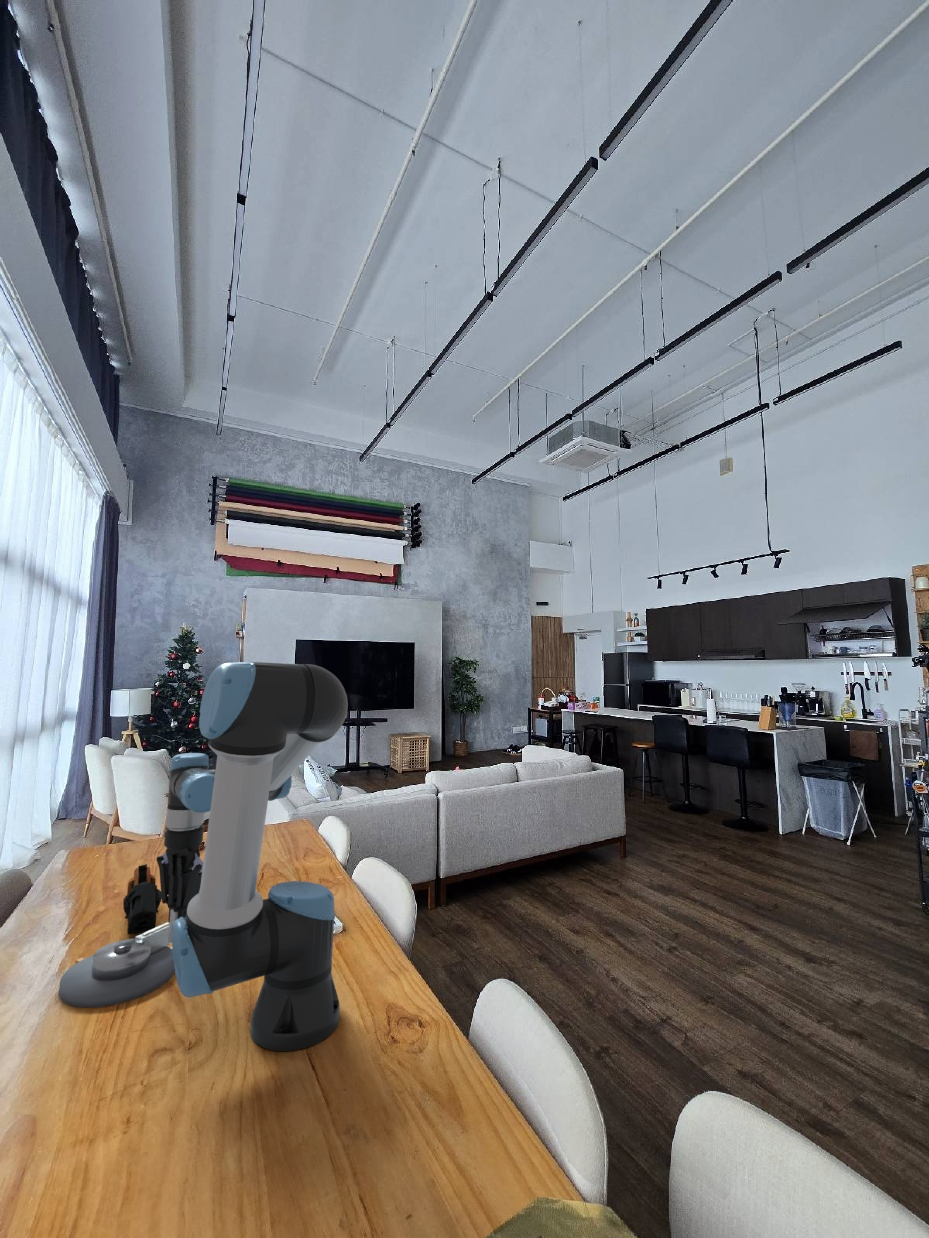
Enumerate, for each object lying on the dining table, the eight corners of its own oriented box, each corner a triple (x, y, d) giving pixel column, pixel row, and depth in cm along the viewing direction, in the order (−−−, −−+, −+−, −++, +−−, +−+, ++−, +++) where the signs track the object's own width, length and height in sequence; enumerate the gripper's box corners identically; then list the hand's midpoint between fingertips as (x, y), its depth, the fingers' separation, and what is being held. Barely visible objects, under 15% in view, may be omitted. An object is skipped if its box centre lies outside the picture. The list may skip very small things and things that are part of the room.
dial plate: (202, 973, 112) (202, 963, 113) (73, 1021, 96) (74, 1009, 96) (162, 937, 127) (162, 928, 128) (45, 973, 111) (46, 963, 111)
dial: (114, 984, 104) (116, 960, 104) (79, 972, 108) (81, 949, 108) (183, 947, 118) (184, 926, 119) (150, 938, 122) (152, 918, 122)
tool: (118, 969, 127) (122, 915, 123) (122, 898, 145) (126, 850, 142) (158, 960, 131) (163, 908, 127) (157, 892, 149) (161, 845, 146)
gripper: (221, 825, 120) (212, 938, 118) (178, 818, 125) (169, 925, 123) (192, 834, 113) (183, 954, 111) (148, 826, 118) (138, 940, 116)
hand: (176, 939), depth 117 cm, fingers closed
